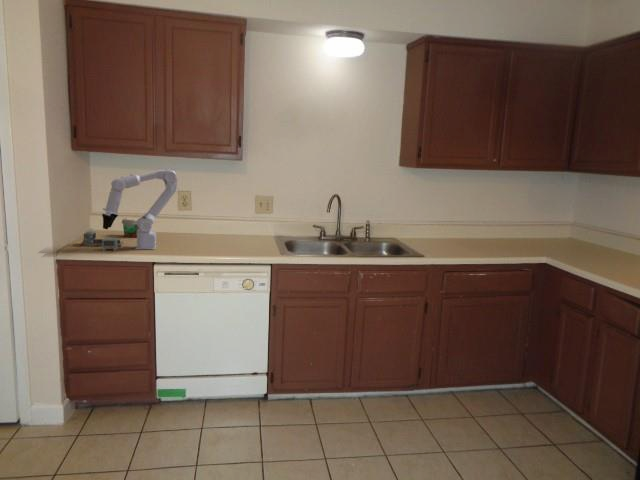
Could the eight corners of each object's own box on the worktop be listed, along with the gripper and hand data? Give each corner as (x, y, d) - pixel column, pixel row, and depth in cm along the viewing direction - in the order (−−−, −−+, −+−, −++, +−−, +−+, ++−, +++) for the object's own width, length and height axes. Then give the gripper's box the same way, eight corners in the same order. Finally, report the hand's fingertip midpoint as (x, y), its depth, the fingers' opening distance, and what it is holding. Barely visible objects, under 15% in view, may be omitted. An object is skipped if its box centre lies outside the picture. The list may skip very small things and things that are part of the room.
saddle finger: (104, 248, 250) (103, 238, 249) (117, 248, 252) (117, 238, 251) (102, 250, 246) (101, 240, 245) (115, 250, 247) (115, 240, 246)
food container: (117, 236, 282) (116, 219, 280) (125, 234, 287) (125, 217, 285) (132, 239, 276) (132, 221, 274) (140, 237, 281) (140, 220, 279)
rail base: (123, 243, 264) (123, 231, 263) (120, 246, 257) (120, 234, 255) (83, 243, 260) (83, 231, 259) (79, 246, 252) (79, 233, 251)
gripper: (108, 199, 252) (101, 224, 253) (102, 200, 238) (95, 227, 239) (122, 202, 254) (115, 227, 255) (117, 204, 240) (110, 231, 241)
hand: (106, 228), depth 247 cm, fingers open, 7 cm apart
